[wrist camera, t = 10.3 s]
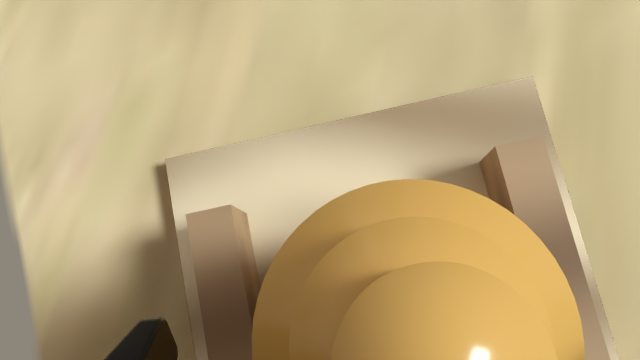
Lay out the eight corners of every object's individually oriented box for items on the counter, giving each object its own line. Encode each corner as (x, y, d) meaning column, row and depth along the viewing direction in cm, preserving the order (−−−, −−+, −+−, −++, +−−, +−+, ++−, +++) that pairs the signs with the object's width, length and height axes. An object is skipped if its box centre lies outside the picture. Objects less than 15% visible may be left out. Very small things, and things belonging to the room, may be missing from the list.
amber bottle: (504, 342, 18) (852, 495, 5) (360, 428, 18) (347, 803, 5) (415, 200, 19) (518, 36, 6) (280, 280, 19) (102, 276, 6)
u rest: (648, 478, 17) (705, 519, 14) (232, 557, 18) (206, 612, 15) (527, 82, 20) (555, 48, 17) (170, 162, 21) (138, 143, 18)
